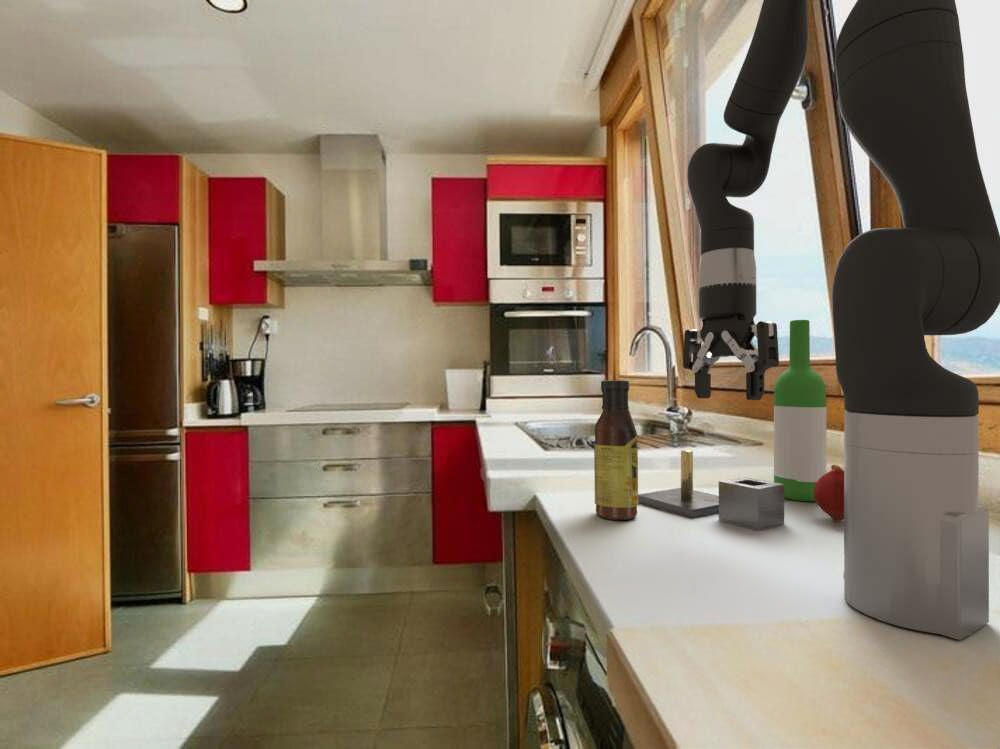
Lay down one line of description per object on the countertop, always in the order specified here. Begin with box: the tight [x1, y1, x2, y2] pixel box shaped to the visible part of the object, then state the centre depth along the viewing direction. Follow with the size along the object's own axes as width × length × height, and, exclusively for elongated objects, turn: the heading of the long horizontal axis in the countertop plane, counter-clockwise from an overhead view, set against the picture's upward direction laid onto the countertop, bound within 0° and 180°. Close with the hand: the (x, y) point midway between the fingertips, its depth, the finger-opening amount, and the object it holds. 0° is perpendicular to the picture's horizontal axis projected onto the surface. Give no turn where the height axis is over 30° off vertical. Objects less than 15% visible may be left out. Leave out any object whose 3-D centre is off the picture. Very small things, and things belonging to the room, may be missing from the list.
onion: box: [813, 464, 844, 523], centre depth 74 cm, size 6×6×8 cm
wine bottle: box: [773, 319, 827, 502], centre depth 88 cm, size 8×8×30 cm
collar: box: [718, 476, 785, 531], centre depth 73 cm, size 6×6×6 cm
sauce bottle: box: [593, 379, 639, 521], centre depth 76 cm, size 7×6×20 cm
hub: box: [638, 449, 719, 519], centre depth 83 cm, size 11×11×9 cm
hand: (727, 399), depth 74 cm, fingers open, 8 cm apart
